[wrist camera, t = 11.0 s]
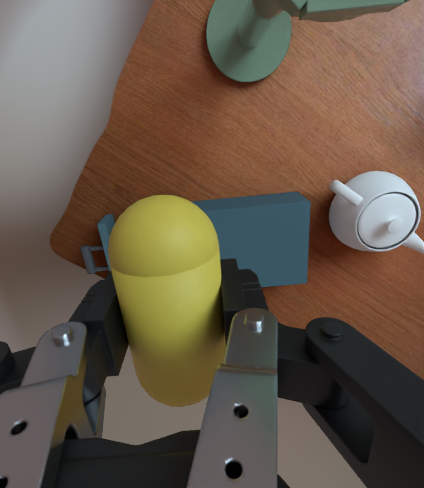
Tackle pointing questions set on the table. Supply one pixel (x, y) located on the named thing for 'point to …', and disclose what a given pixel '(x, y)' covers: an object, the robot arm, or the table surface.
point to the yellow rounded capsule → (170, 296)
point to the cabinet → (264, 234)
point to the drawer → (105, 231)
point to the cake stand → (270, 30)
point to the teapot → (375, 213)
